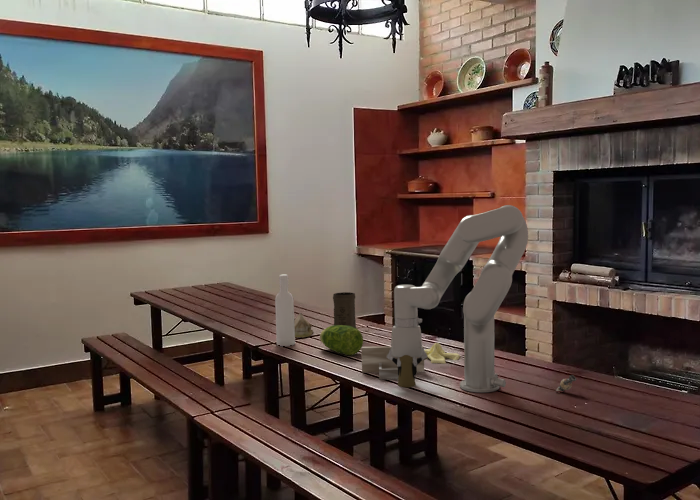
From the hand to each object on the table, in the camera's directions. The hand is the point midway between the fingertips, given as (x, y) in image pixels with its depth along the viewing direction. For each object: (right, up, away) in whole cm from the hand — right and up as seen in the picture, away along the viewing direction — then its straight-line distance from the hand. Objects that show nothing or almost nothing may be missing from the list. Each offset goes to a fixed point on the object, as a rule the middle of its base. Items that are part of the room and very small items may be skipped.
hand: (407, 376), depth 213 cm
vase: (+49, -3, -12) cm, 50 cm away
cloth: (+13, 0, +35) cm, 37 cm away
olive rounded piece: (0, -3, 0) cm, 3 cm away
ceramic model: (-41, +3, +82) cm, 92 cm away
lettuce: (-23, 0, +47) cm, 52 cm away
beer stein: (-21, +3, +77) cm, 80 cm away
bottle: (-46, +1, +63) cm, 78 cm away
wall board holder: (-4, -2, +11) cm, 12 cm away
